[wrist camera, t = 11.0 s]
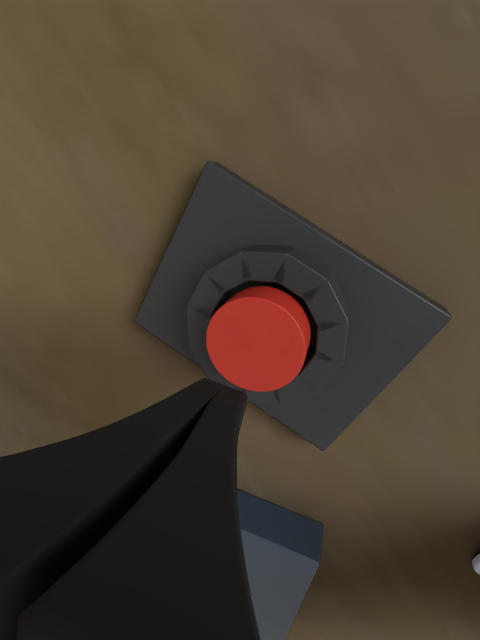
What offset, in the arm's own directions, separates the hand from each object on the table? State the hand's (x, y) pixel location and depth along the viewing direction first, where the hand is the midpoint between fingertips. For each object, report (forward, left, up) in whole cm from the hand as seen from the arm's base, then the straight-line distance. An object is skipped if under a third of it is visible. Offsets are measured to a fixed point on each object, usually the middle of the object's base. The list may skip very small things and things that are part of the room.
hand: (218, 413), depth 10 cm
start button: (0, 0, -6) cm, 6 cm away
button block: (0, 0, -9) cm, 9 cm away
